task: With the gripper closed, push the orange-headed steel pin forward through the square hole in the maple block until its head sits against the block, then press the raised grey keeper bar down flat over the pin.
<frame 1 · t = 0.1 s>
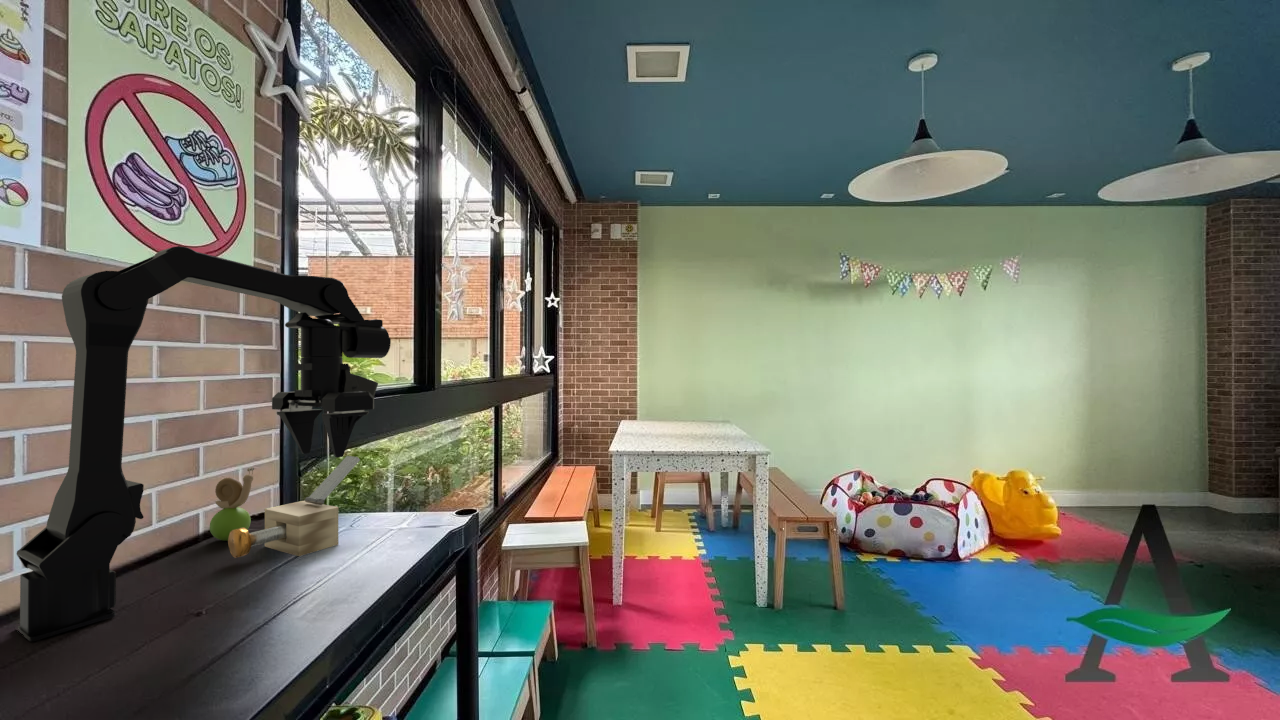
hand: (322, 455, 83), 15 cm above the counter, tool pointing down, fingers open, 9 cm apart
keeper bar: (333, 479, 88), point 10 cm above the counter, hinge at 42.0°
snail figurine: (233, 540, 87), on the counter
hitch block: (301, 545, 84), on the counter
pin: (284, 531, 81), point 3 cm above the counter, slide at 0.0 cm
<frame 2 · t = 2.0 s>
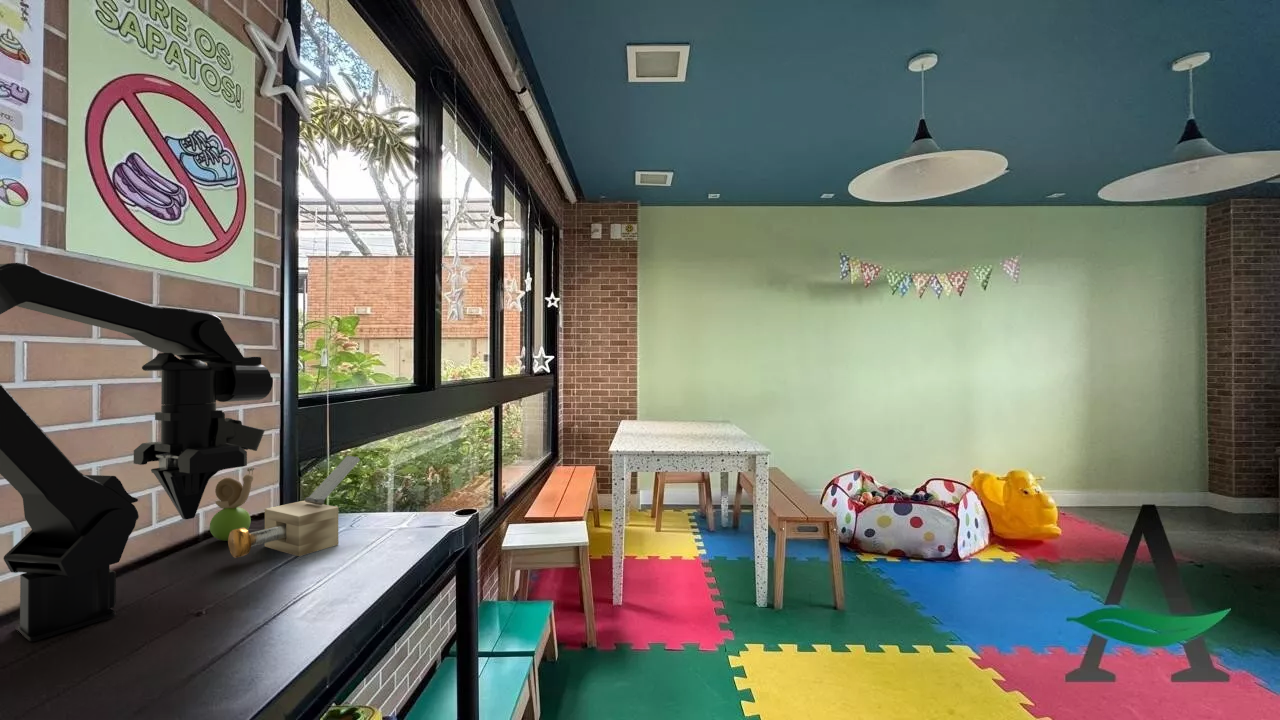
hand: (188, 518, 71), 8 cm above the counter, tool pointing down, fingers closed
nothing on the counter moved.
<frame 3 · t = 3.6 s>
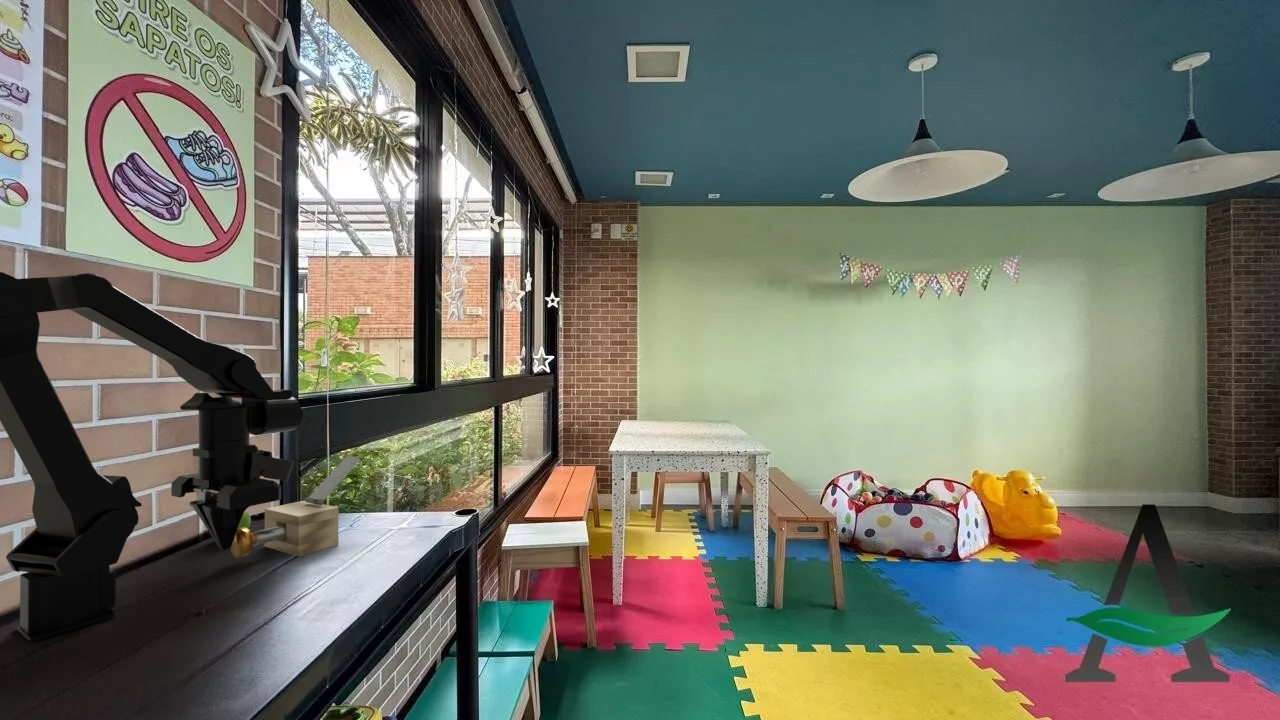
hand: (225, 548, 75), 3 cm above the counter, tool pointing down, fingers closed, pressing on pin
pin: (285, 530, 82), point 3 cm above the counter, slide at 0.2 cm, touching gripper
everything else where it was.
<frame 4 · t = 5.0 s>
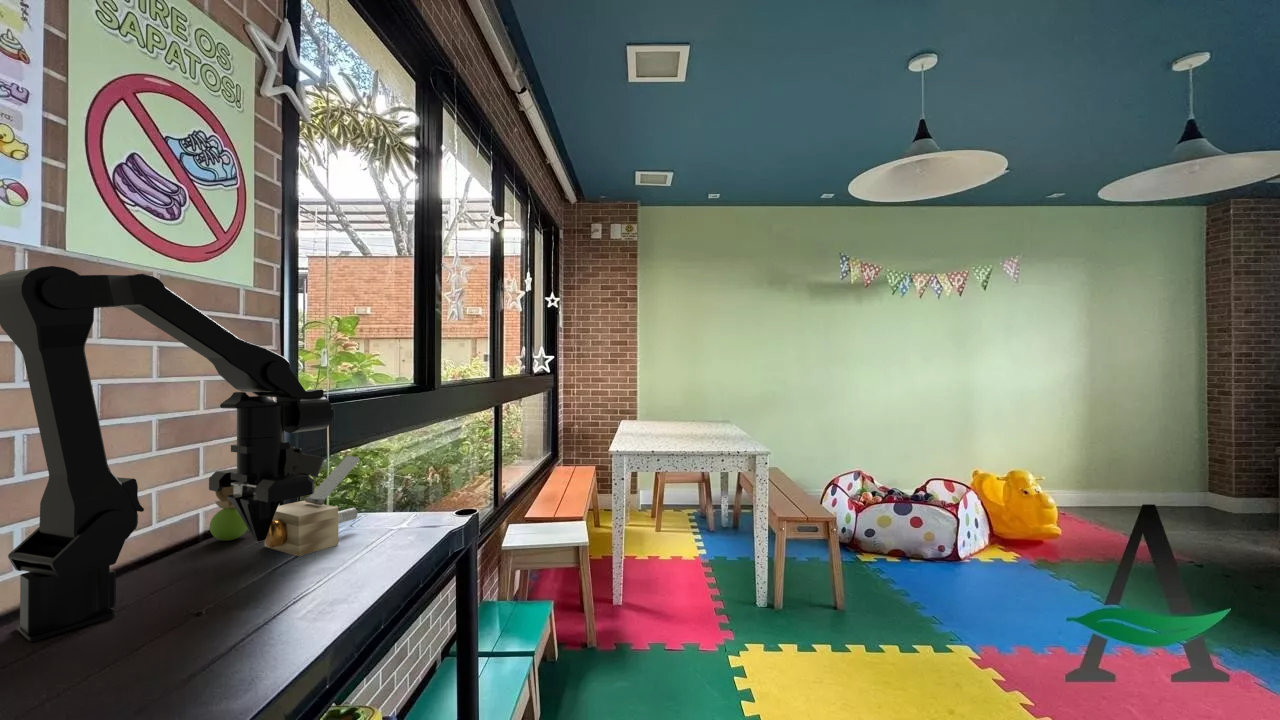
hand: (260, 540, 79), 3 cm above the counter, tool pointing down, fingers closed, pressing on pin
pin: (315, 523, 86), point 3 cm above the counter, slide at 4.7 cm, touching gripper
everything else where it was.
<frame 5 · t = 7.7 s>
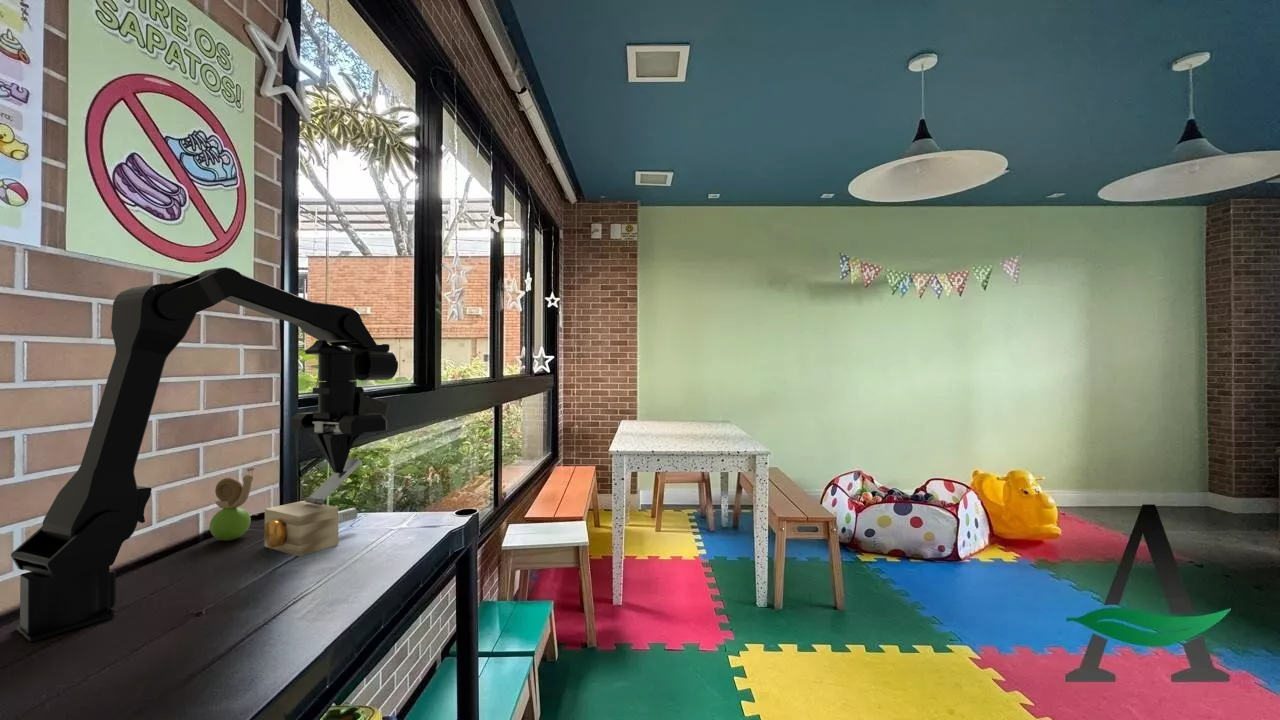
hand: (338, 472, 89), 11 cm above the counter, tool pointing down, fingers closed
keeper bar: (334, 480, 89), point 9 cm above the counter, hinge at 38.1°
pin: (315, 523, 86), point 3 cm above the counter, slide at 4.7 cm
everything else where it was.
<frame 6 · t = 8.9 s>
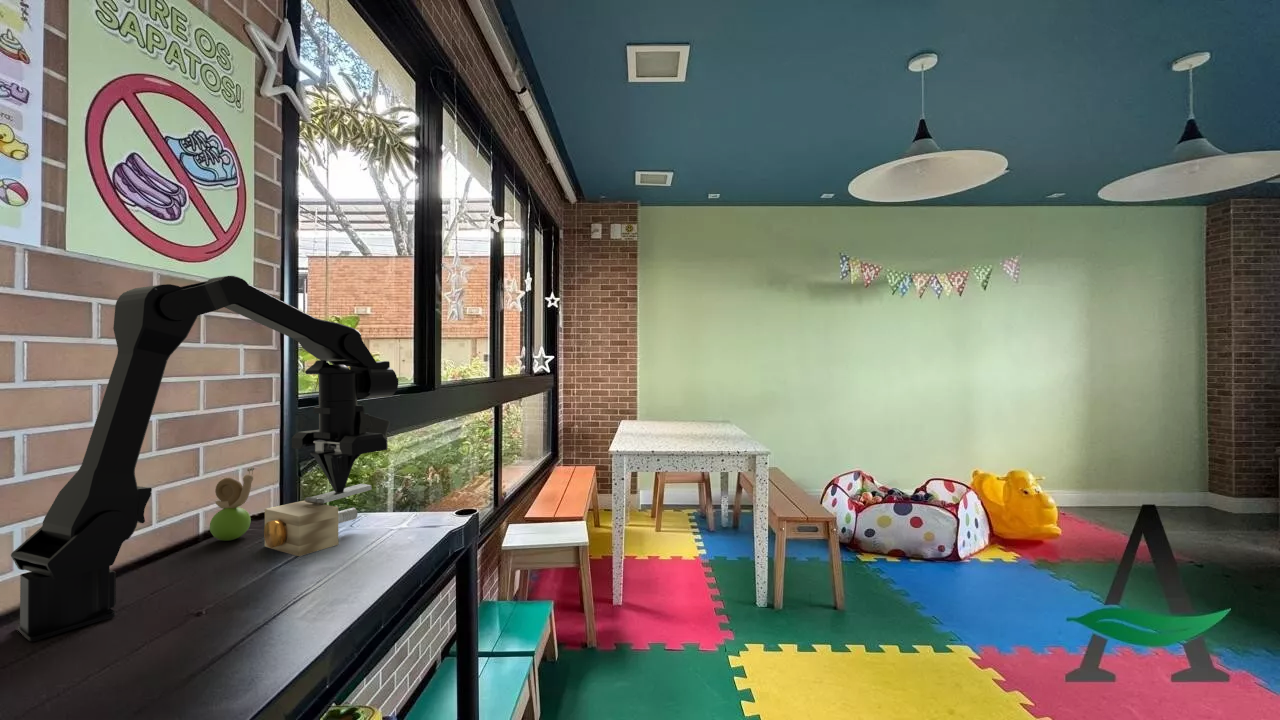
hand: (339, 491, 89), 7 cm above the counter, tool pointing down, fingers closed, pressing on keeper bar
keeper bar: (340, 493, 89), point 7 cm above the counter, hinge at 3.3°, touching gripper
everything else where it was.
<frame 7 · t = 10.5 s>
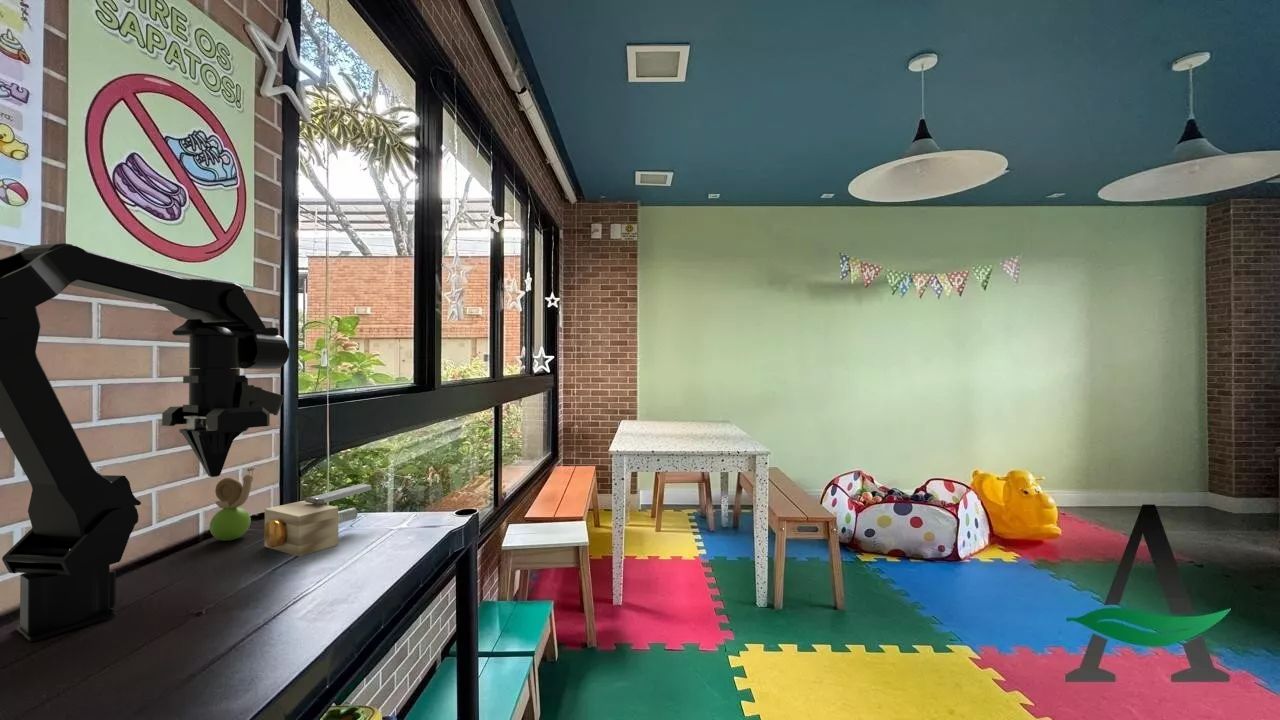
hand: (214, 476, 75), 13 cm above the counter, tool pointing down, fingers closed
keeper bar: (340, 493, 89), point 7 cm above the counter, hinge at 3.3°
everything else where it was.
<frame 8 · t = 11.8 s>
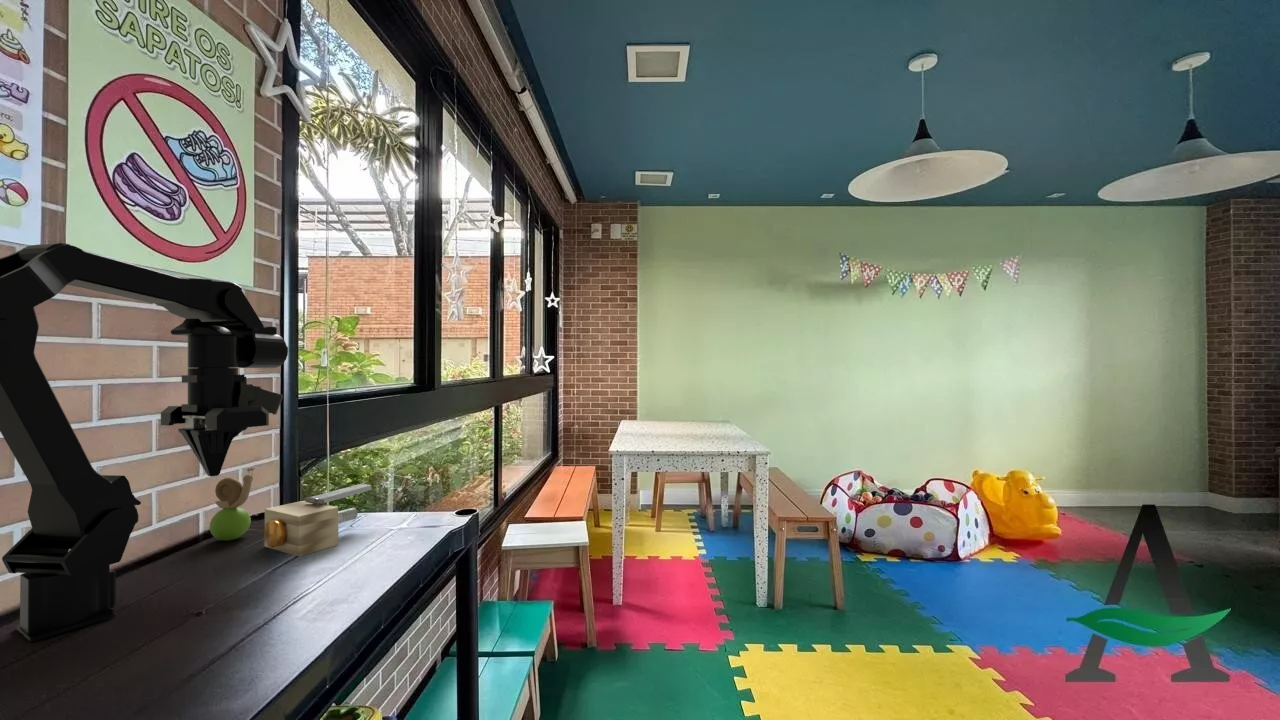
hand: (213, 475, 75), 13 cm above the counter, tool pointing down, fingers closed
nothing on the counter moved.
at the end: pin slide at 4.7 cm; keeper bar at +3° (first picture: +42°); keeper bar touching nothing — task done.
